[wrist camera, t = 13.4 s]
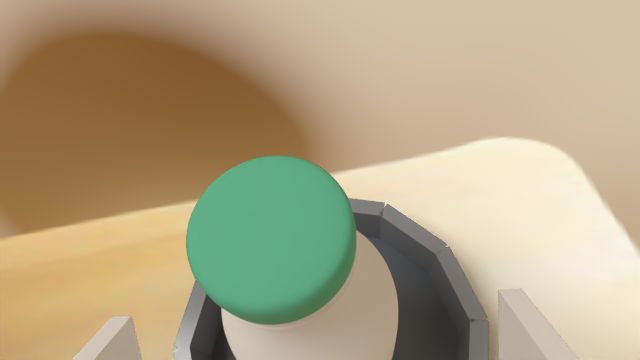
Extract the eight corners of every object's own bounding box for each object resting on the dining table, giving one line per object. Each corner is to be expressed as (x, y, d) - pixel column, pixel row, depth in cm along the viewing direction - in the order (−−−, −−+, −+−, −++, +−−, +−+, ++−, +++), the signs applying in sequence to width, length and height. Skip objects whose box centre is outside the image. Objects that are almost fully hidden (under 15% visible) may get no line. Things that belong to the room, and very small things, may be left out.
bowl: (238, 563, 24) (208, 594, 20) (186, 273, 33) (158, 251, 29) (526, 444, 25) (558, 447, 21) (400, 196, 34) (404, 163, 30)
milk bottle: (406, 311, 29) (451, 143, 12) (369, 434, 26) (355, 453, 8) (303, 273, 31) (212, 83, 14) (257, 381, 28) (61, 310, 10)
